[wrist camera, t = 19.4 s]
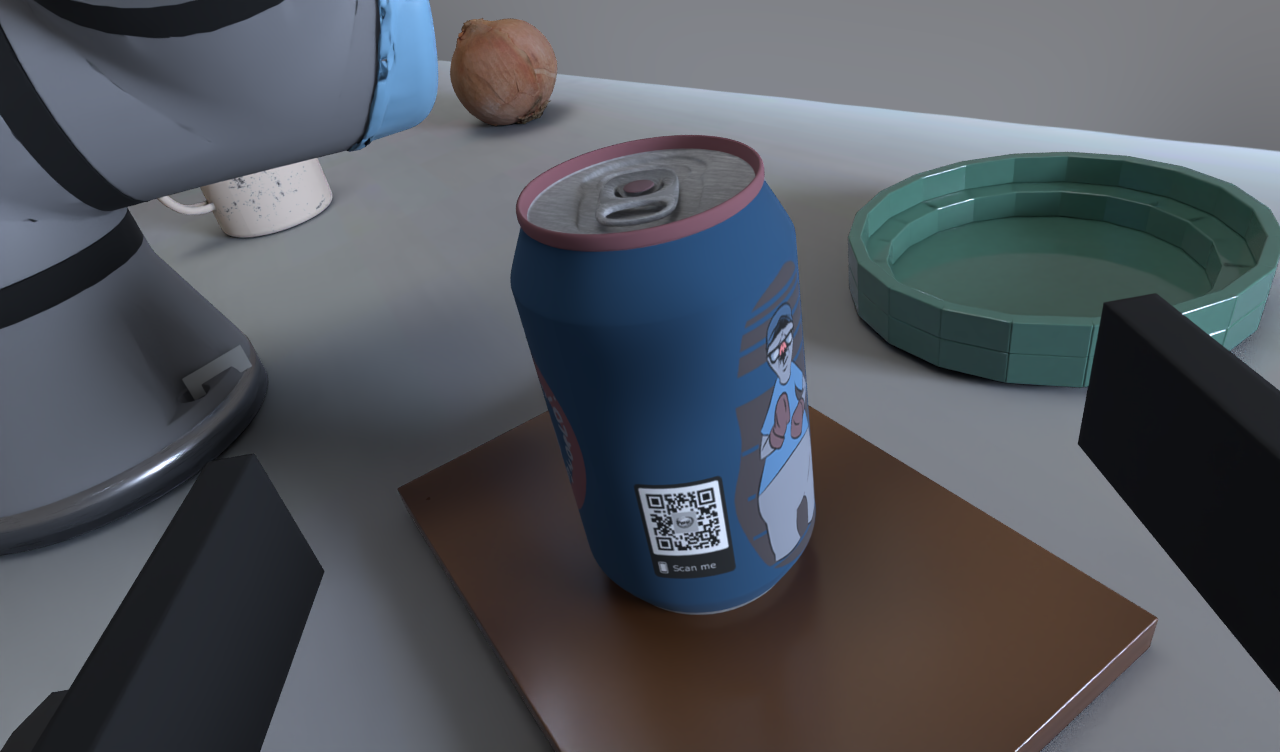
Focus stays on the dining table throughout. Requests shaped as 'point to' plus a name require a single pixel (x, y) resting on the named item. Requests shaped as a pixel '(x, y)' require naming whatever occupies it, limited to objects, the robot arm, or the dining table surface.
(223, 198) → the teacup with lid
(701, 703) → the board
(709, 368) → the soda can
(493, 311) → the dining table surface
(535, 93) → the onion
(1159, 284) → the bowl
